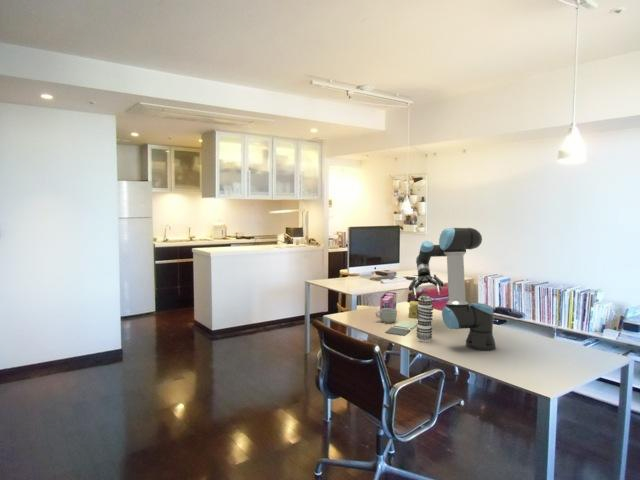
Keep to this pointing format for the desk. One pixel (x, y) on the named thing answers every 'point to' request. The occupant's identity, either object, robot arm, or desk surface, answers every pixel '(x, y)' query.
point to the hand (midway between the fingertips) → (427, 294)
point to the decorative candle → (424, 319)
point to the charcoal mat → (397, 331)
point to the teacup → (387, 315)
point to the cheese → (413, 309)
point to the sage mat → (405, 324)
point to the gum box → (388, 301)
